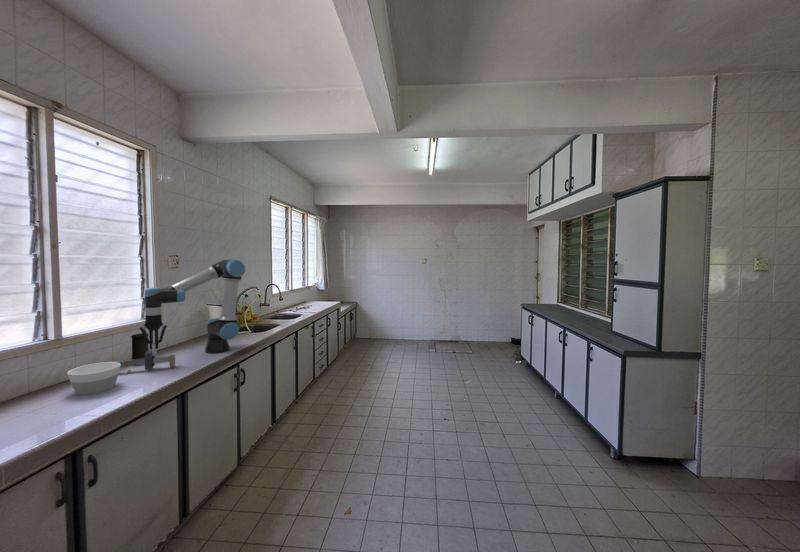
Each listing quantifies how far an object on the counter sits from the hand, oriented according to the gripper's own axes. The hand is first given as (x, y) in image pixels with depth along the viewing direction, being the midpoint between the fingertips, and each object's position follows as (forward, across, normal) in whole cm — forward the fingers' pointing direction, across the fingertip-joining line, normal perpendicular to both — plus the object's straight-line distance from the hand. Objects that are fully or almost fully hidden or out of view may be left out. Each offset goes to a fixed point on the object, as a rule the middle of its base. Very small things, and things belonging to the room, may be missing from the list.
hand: (154, 354), depth 187 cm
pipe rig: (+9, +6, 0) cm, 10 cm away
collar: (+7, +2, 0) cm, 8 cm away
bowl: (+9, +20, +22) cm, 31 cm away
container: (+9, +10, -17) cm, 22 cm away
